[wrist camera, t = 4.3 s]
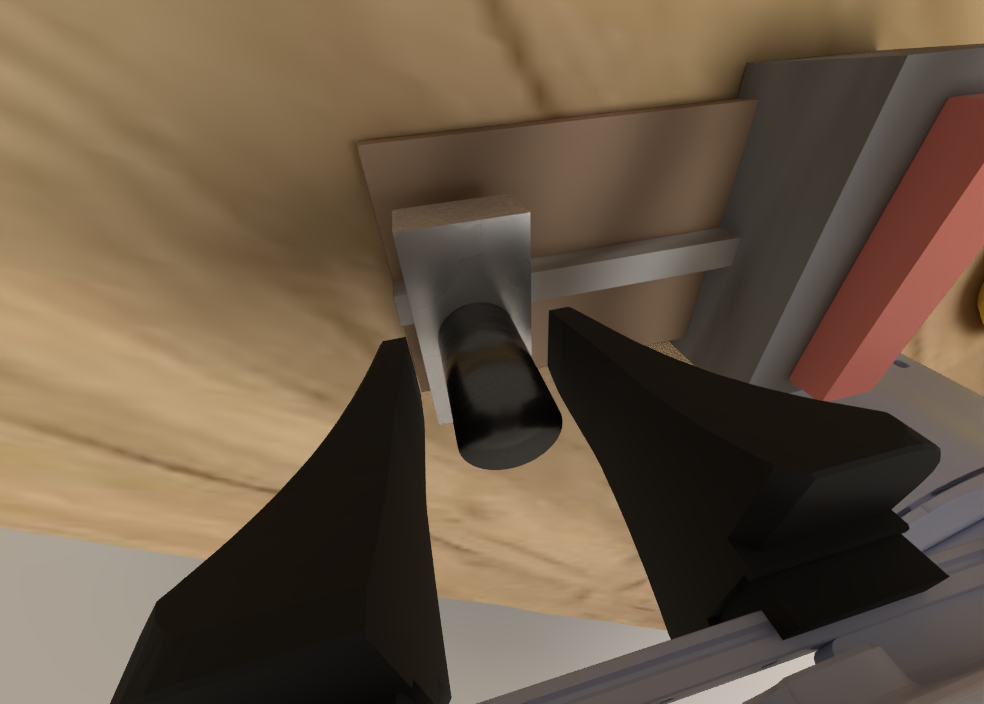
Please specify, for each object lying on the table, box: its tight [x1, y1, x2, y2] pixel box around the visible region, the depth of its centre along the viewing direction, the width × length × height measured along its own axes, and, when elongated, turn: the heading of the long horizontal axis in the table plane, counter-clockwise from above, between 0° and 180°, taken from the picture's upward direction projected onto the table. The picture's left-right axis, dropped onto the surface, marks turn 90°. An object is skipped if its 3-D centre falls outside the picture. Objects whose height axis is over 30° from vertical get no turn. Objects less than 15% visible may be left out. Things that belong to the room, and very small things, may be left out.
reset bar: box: [788, 93, 984, 402], centre depth 12 cm, size 2×10×2 cm, turn 4°
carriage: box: [392, 194, 562, 470], centre depth 11 cm, size 4×7×7 cm, turn 4°
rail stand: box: [357, 44, 984, 393], centre depth 14 cm, size 19×12×5 cm, turn 94°
